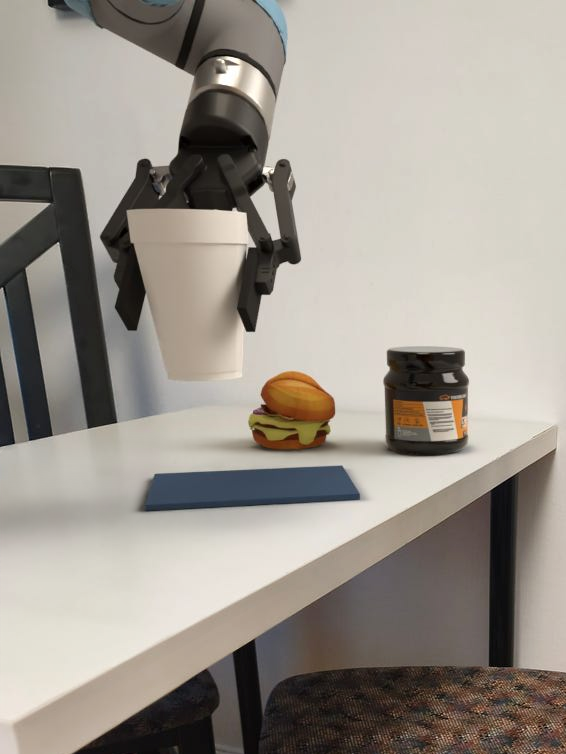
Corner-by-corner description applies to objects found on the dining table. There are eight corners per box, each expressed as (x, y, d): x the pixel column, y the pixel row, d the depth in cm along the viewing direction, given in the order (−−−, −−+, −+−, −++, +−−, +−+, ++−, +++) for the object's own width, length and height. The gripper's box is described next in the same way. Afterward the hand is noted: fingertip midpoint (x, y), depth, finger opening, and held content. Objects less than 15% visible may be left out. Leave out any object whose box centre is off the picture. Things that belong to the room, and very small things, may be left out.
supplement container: (449, 459, 106) (449, 354, 102) (370, 452, 110) (367, 350, 105) (480, 444, 116) (481, 347, 111) (406, 438, 119) (404, 344, 114)
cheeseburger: (290, 433, 121) (298, 360, 116) (347, 461, 117) (358, 386, 112) (231, 442, 113) (238, 364, 108) (290, 473, 109) (299, 393, 104)
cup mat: (145, 511, 83) (144, 504, 82) (155, 479, 95) (154, 473, 95) (360, 499, 87) (359, 493, 87) (342, 470, 100) (342, 465, 100)
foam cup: (180, 370, 83) (161, 215, 78) (275, 372, 81) (263, 215, 76) (128, 381, 74) (103, 208, 69) (233, 384, 73) (216, 208, 68)
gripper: (92, 88, 79) (32, 284, 70) (339, 87, 77) (308, 286, 69) (127, 163, 86) (75, 349, 77) (353, 163, 84) (327, 352, 76)
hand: (185, 319), depth 73 cm, fingers closed on foam cup, 9 cm apart
